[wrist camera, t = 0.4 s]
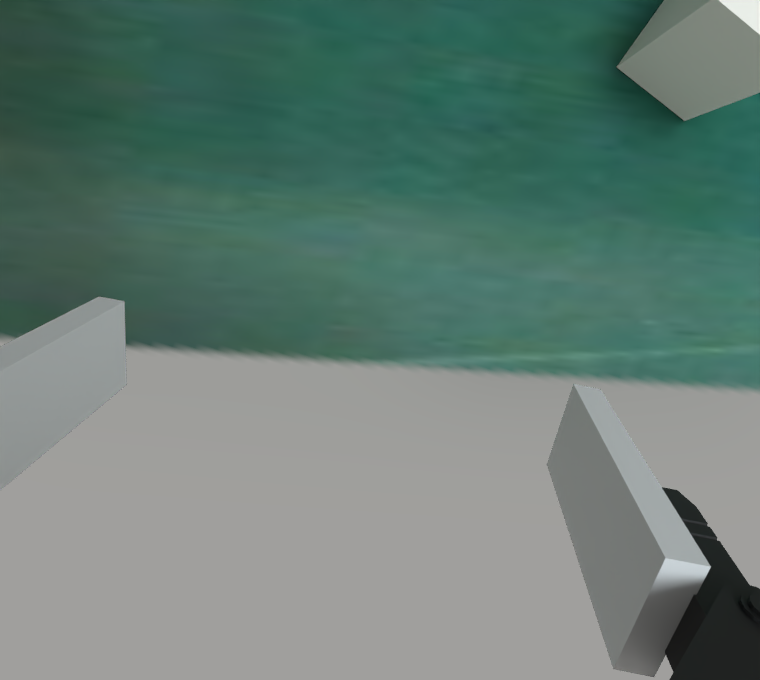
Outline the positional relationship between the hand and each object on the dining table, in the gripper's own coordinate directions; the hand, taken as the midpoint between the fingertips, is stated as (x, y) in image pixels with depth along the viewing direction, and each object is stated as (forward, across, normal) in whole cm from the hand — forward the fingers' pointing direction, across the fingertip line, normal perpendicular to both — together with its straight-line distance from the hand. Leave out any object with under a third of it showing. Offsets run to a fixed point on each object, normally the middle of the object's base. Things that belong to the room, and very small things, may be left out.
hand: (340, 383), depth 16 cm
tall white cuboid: (+30, +17, +14) cm, 37 cm away
